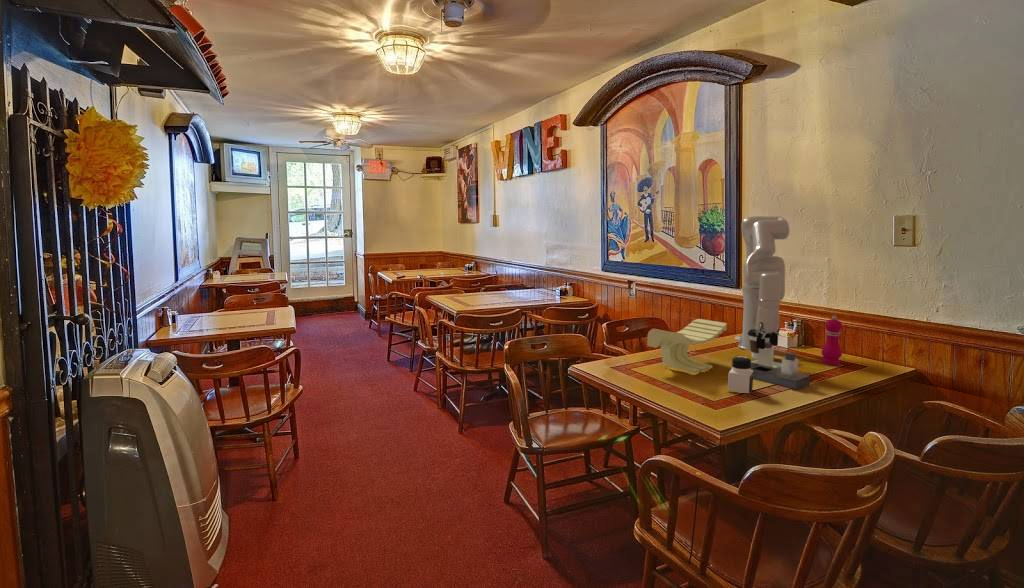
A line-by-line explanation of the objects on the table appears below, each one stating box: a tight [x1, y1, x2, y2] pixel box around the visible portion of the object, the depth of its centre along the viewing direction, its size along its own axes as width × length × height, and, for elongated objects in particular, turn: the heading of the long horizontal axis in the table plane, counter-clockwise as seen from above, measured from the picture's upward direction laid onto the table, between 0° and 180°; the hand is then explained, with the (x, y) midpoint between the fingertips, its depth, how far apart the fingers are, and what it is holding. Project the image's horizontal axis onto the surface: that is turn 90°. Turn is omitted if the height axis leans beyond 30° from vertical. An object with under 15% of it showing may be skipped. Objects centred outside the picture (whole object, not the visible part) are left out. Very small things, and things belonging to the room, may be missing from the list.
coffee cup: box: [748, 329, 773, 360], centre depth 233 cm, size 11×11×12 cm
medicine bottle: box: [727, 356, 754, 394], centre depth 192 cm, size 7×7×12 cm
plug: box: [757, 342, 775, 367], centre depth 219 cm, size 4×4×10 cm
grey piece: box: [751, 352, 811, 391], centre depth 204 cm, size 24×10×12 cm, turn 36°
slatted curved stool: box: [646, 318, 728, 373], centre depth 220 cm, size 30×16×18 cm, turn 127°
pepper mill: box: [821, 315, 843, 366], centre depth 224 cm, size 7×7×20 cm
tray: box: [751, 359, 782, 369], centre depth 220 cm, size 11×11×2 cm
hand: (766, 346), depth 218 cm, fingers open, 9 cm apart
